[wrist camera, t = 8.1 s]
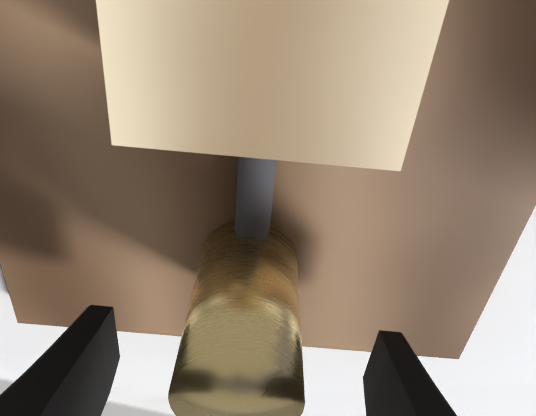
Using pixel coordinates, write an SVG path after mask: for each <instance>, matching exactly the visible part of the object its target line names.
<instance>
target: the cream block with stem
mask: <svg viewBox="0 0 536 416" xmlns="http://www.w3.org/2000/svg"><path fill="white" fill-rule="evenodd" d="M448 3H449V0H96V6H97V15H98V25H99V34H100V43H101V52H102V61H103V70H104V79H105V88H106V97H107V106H108V115H109V125H110V134H111V143H112V145H115V146H126V147H137V148H148V149H159V150H171V151H182V152H193V153H204V154H215V155H226V156H237V157H239V163H238V180H237V196H236V213H235V220H234V221H231V222H228V223H225V224H223V225H221V226H220V227H218V228H216V229H215V230H214V231H213V232H212V233H211V234H210V235H209V236H208V238H207V239H206V241H205V243H204V245H203V249H202V253H201V257H200V262H199V266H198V270H197V274H196V279H195V283H194V287H193V291H192V295H191V300H190V304H189V308H188V312H187V317H186V321H185V325H184V329H183V334H182V338H181V342H180V346H179V350H178V355H177V359H176V363H175V367H174V372H173V376H172V380H171V384H170V389H169V395H168V399H169V404H170V406H171V409H172V410H173V412H174V414H175V415H176V416H301V414H302V413H303V410H304V405H305V397H304V378H303V359H302V340H301V321H300V302H299V283H298V264H297V252H296V248H295V246H294V243H293V242H292V240H291V239H290V237H289V236H288V235H287V234H286V233H285V232H284V231H283V230H281V229H280V228H278V227H277V226H275V225H273V224H270V220H271V211H272V202H273V193H274V184H275V175H276V166H277V160H281V161H292V162H303V163H314V164H325V165H336V166H347V167H358V168H369V169H380V170H391V171H401V168H402V165H403V161H404V158H405V154H406V151H407V147H408V144H409V140H410V136H411V133H412V129H413V126H414V122H415V119H416V115H417V112H418V108H419V105H420V101H421V98H422V94H423V91H424V87H425V84H426V80H427V77H428V73H429V70H430V66H431V63H432V59H433V55H434V52H435V48H436V45H437V41H438V38H439V34H440V31H441V27H442V24H443V20H444V17H445V13H446V10H447V6H448Z"/></svg>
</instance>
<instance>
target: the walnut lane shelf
mask: <svg viewBox="0 0 536 416" xmlns="http://www.w3.org/2000/svg"><path fill="white" fill-rule="evenodd" d="M238 163H239V157H237V156H226V155H215V154H204V153H193V152H182V151H171V150H159V149H148V148H137V147H126V146H115V145H112V143H111V134H110V125H109V115H108V106H107V97H106V88H105V79H104V70H103V61H102V52H101V43H100V34H99V25H98V15H97V6H96V0H0V265H1V268H2V272H3V275H4V278H5V282H6V285H7V288H8V292H9V295H10V298H11V302H12V305H13V308H14V312H15V315H16V318H17V322H18V323H26V324H39V325H51V326H63V327H69V326H70V325H71V324H72V323H73V322H74V321H75V320H76V319H77V318H78V317H79V316H80V314H81V313H82V312H83V311H84V310H85V309H86V308H87V307H88V306H90V305H99V306H110V307H113V308H114V316H115V323H116V331H124V332H136V333H148V334H160V335H172V336H182V334H183V329H184V325H185V321H186V317H187V312H188V308H189V304H190V300H191V295H192V291H193V287H194V283H195V279H196V274H197V270H198V266H199V262H200V257H201V253H202V249H203V245H204V243H205V241H206V239H207V238H208V236H209V235H210V234H211V233H212V232H213V231H214V230H215V229H216V228H218V227H220V226H221V225H223V224H225V223H228V222H231V221H234V220H235V213H236V196H237V180H238ZM535 205H536V0H449V3H448V6H447V10H446V13H445V17H444V20H443V24H442V27H441V31H440V34H439V38H438V41H437V45H436V48H435V52H434V55H433V59H432V63H431V66H430V70H429V73H428V77H427V80H426V84H425V87H424V91H423V94H422V98H421V101H420V105H419V108H418V112H417V115H416V119H415V122H414V126H413V129H412V133H411V136H410V140H409V144H408V147H407V151H406V154H405V158H404V161H403V165H402V168H401V171H391V170H380V169H369V168H358V167H347V166H336V165H325V164H314V163H303V162H292V161H281V160H277V166H276V175H275V184H274V193H273V202H272V211H271V220H270V224H273V225H275V226H277V227H278V228H280V229H281V230H283V231H284V232H285V233H286V234H287V235H288V236H289V237H290V239H291V240H292V242H293V243H294V246H295V248H296V252H297V264H298V283H299V302H300V321H301V340H302V346H306V347H318V348H330V349H342V350H354V351H366V352H372V349H373V346H374V343H375V341H376V338H377V335H378V332H379V330H383V331H394V332H401V333H402V334H403V335H404V337H405V338H406V340H407V341H408V343H409V345H410V346H411V348H412V349H413V351H414V353H415V354H416V356H427V357H439V358H451V359H459V357H460V355H461V353H462V351H463V349H464V347H465V345H466V343H467V341H468V339H469V337H470V335H471V333H472V331H473V329H474V327H475V325H476V323H477V321H478V319H479V317H480V315H481V313H482V311H483V309H484V307H485V305H486V303H487V301H488V299H489V297H490V295H491V293H492V291H493V289H494V287H495V285H496V283H497V281H498V279H499V277H500V275H501V273H502V271H503V269H504V267H505V265H506V263H507V261H508V259H509V257H510V255H511V253H512V251H513V249H514V247H515V245H516V243H517V241H518V239H519V237H520V235H521V233H522V231H523V229H524V227H525V225H526V223H527V221H528V219H529V217H530V215H531V213H532V211H533V209H534V207H535Z"/></svg>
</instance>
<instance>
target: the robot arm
mask: <svg viewBox="0 0 536 416" xmlns="http://www.w3.org/2000/svg"><path fill="white" fill-rule="evenodd" d="M119 358H120V354H119V346H118V339H117V331H116V323H115V316H114V308H113V307H110V306H99V305H90V306H88V307H87V308H86V309H85V310H84V311H83V312H82V313H81V314H80V316H79V317H78V318H77V319H76V320H75V321H74V322H73V323H72V324H71V325H70V326H69V328H68V329H67V330H66V331H65V332H64V333H63V334H62V335H61V336H60V337H59V338H58V339H57V340H56V341H55V342H54V343H53V344H52V346H51V347H50V348H49V349H48V350H47V351H46V352H45V353H44V354H43V355H42V356H41V357H40V358H39V359H38V360H37V361H36V362H35V363H34V364H33V365H32V366H31V367H30V368H29V369H28V370H27V371H26V372H24V373H23V374H22V375H21V376H20V377H19V378H18V379H17V380H16V381H15V382H14V383H13V384H12V385H10V386H9V387H8V388H7V389H6V390H5V391H4V392H3V393H2V394H1V395H0V416H101V414H102V411H103V409H104V406H105V404H106V401H107V399H108V396H109V394H110V390H111V387H112V383H113V380H114V377H115V373H116V369H117V366H118V362H119ZM363 383H364V395H365V406H366V415H367V416H457V415H456V414H455V412H454V411H453V409H452V408H451V407H450V405H449V404H448V402H447V401H446V399H445V398H444V397H443V395H442V394H441V392H440V391H439V389H438V388H437V386H436V385H435V383H434V382H433V381H432V379H431V377H430V376H429V374H428V373H427V371H426V370H425V368H424V367H423V365H422V364H421V362H420V360H419V359H418V357H417V356H416V354H415V353H414V351H413V349H412V348H411V346H410V345H409V343H408V341H407V340H406V338H405V337H404V335H403V334H402V333H401V332H394V331H383V330H379V332H378V335H377V338H376V341H375V343H374V346H373V349H372V352H371V355H370V358H369V361H368V364H367V367H366V370H365V373H364V376H363Z"/></svg>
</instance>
